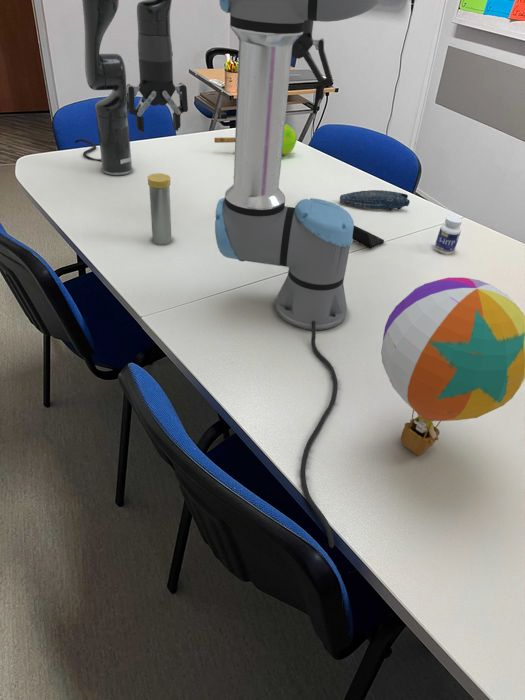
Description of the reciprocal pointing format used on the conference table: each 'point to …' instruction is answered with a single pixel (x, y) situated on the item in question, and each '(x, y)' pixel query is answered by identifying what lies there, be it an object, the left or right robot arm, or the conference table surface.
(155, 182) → the lid
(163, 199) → the grey metal canister
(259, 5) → the right robot arm
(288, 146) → the decorative tree
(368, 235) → the handheld gaming console
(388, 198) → the fish model
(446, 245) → the pill bottle
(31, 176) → the conference table surface
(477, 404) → the toy
